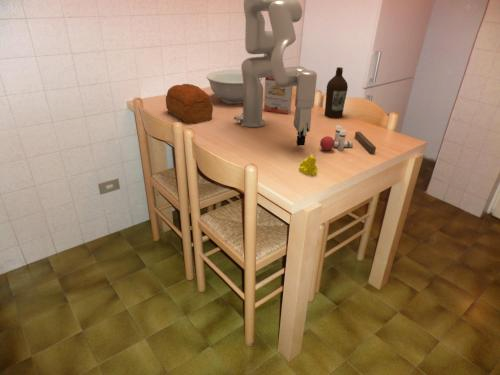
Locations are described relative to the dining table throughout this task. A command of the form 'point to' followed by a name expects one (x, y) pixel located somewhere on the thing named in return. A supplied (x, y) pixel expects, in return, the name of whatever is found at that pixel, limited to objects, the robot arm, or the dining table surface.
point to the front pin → (345, 144)
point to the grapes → (308, 166)
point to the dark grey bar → (365, 142)
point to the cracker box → (277, 97)
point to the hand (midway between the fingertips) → (300, 144)
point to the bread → (189, 103)
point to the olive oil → (336, 95)
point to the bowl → (227, 85)
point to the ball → (327, 143)
